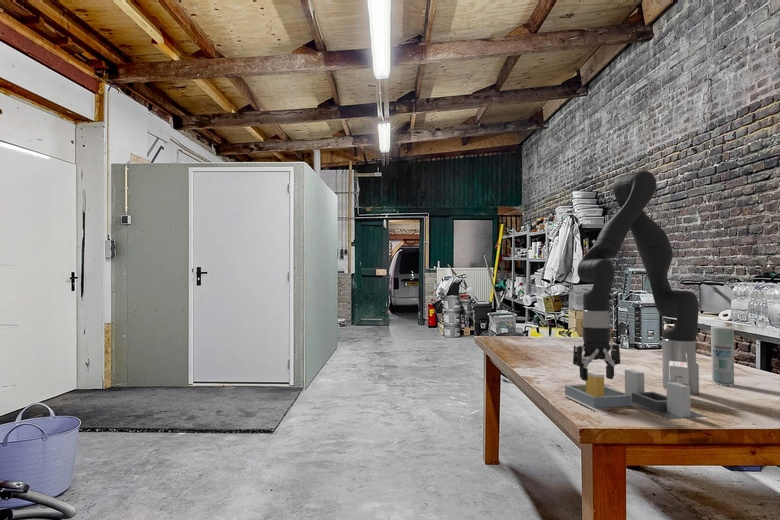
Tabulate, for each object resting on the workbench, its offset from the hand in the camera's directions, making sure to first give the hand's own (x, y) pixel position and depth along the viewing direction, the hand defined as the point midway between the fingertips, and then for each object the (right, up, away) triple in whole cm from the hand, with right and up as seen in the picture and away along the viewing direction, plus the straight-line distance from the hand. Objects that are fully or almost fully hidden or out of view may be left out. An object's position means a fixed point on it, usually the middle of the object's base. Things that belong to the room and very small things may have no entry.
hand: (597, 379), depth 132 cm
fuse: (0, -6, +1) cm, 6 cm away
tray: (0, -7, 0) cm, 7 cm away
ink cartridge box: (+25, -7, +1) cm, 26 cm away
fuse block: (+14, -7, -6) cm, 17 cm away
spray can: (+55, -8, +23) cm, 61 cm away
